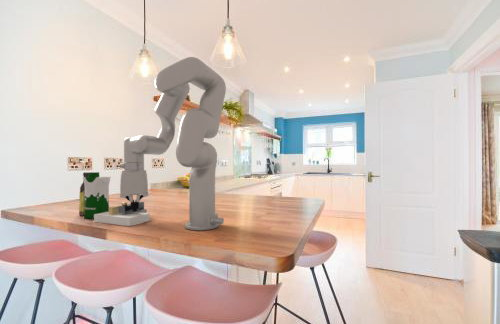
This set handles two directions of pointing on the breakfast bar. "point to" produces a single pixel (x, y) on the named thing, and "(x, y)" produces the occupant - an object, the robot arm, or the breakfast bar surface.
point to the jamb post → (142, 211)
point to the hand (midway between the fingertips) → (134, 211)
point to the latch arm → (129, 207)
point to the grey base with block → (121, 217)
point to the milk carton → (96, 194)
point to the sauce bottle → (82, 196)
